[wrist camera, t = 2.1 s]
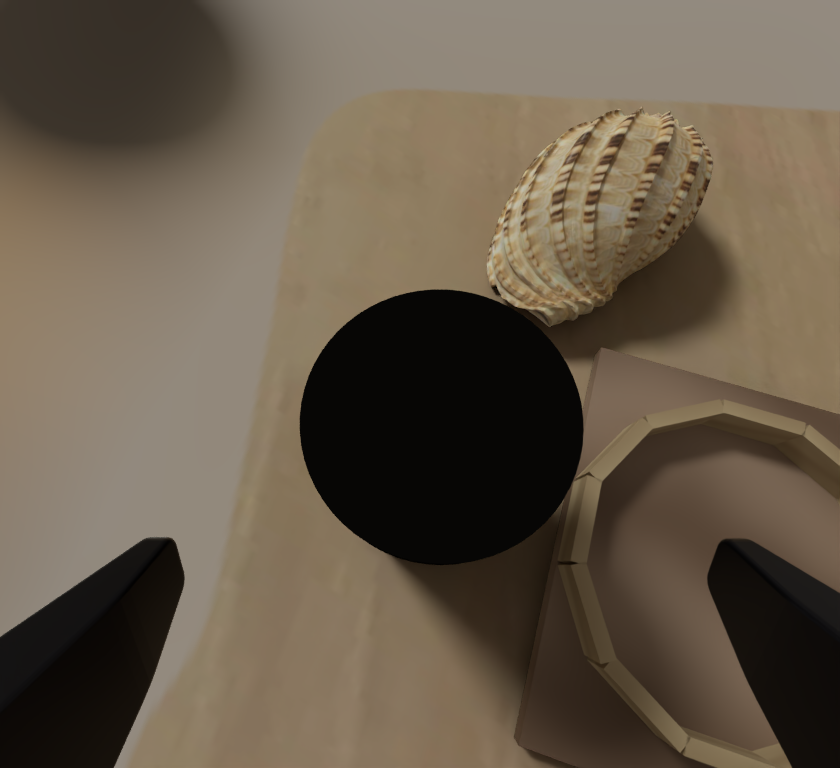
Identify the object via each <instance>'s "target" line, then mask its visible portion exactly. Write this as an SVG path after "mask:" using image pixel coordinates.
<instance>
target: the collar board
mask: <svg viewBox="0 0 840 768" xmlns="http://www.w3.org/2000/svg"><path fill="white" fill-rule="evenodd" d="M583 424H584V435H583V447H582V453H581V458H580V462H579V465H578V469H577V472H576V475H575V477H574V480H573V482H572V485H571V487H570V489H569V490H568V492H567V494H566V496H565V498H564V503H563V507H562V512H561V517H560V522H559V526H558V531H557V536H556V541H555V545H554V550H553V555H552V560H551V564H550V569H549V574H548V578H547V583H546V588H545V593H544V597H543V602H542V607H541V612H540V616H539V621H538V626H537V631H536V635H535V640H534V645H533V649H532V654H531V659H530V664H529V668H528V673H527V678H526V683H525V687H524V692H523V697H522V702H521V706H520V711H519V716H518V721H517V725H516V730H515V735H514V738H515V740H516V741H517V743H518V745H519V746H521V747H523V748H526V749H529V750H532V751H534V752H537V753H540V754H543V755H545V756H548V757H551V758H553V759H556V760H559V761H562V762H564V763H567V764H570V765H573V766H575V767H578V768H792V767H791V765H790V763H789V761H788V759H787V757H786V755H785V753H784V751H783V750H782V748H781V746H780V744H779V742H778V740H777V738H776V736H775V734H774V732H773V731H772V729H771V727H770V725H769V723H768V721H767V719H766V717H765V715H764V713H763V711H762V710H761V708H760V706H759V704H758V702H757V700H756V698H755V696H754V694H753V692H752V690H751V688H750V686H749V684H748V682H747V680H746V677H745V675H744V673H743V671H742V668H741V666H740V664H739V661H738V659H737V656H736V654H735V652H734V649H733V647H732V644H731V642H730V639H729V637H728V635H727V632H726V630H725V627H724V625H723V622H722V620H721V618H720V615H719V613H718V610H717V608H716V606H715V603H714V601H713V598H712V596H711V593H710V591H709V588H708V584H707V574H708V571H709V568H710V565H711V562H712V560H713V557H714V554H715V551H716V548H717V546H718V544H719V542H720V541H721V540H723V539H726V538H745V539H750V540H752V541H754V542H756V543H757V544H759V545H761V546H762V547H764V548H766V549H767V550H769V551H771V552H772V553H774V554H776V555H777V556H779V557H781V558H782V559H784V560H786V561H787V562H789V563H791V564H792V565H794V566H796V567H797V568H799V569H801V570H802V571H804V572H806V573H807V574H809V575H811V576H812V577H814V578H816V579H817V580H819V581H821V582H822V583H824V584H826V585H827V586H829V587H831V588H832V589H834V590H836V591H838V592H839V593H840V414H836V413H832V412H829V411H825V410H822V409H818V408H815V407H811V406H808V405H804V404H801V403H797V402H794V401H790V400H787V399H783V398H779V397H776V396H772V395H769V394H765V393H762V392H758V391H755V390H751V389H748V388H744V387H741V386H737V385H734V384H730V383H726V382H723V381H719V380H716V379H712V378H709V377H705V376H702V375H698V374H695V373H691V372H688V371H684V370H681V369H677V368H673V367H670V366H666V365H663V364H659V363H656V362H652V361H649V360H645V359H642V358H638V357H635V356H631V355H628V354H624V353H620V352H617V351H613V350H610V349H606V348H603V347H601V348H600V350H599V351H598V352H597V353H596V354H595V356H594V361H593V365H592V370H591V375H590V380H589V384H588V389H587V394H586V399H585V403H584V408H583Z"/></svg>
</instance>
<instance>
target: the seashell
mask: <svg viewBox="0 0 840 768" xmlns="http://www.w3.org/2000/svg"><path fill="white" fill-rule="evenodd" d="M670 113H671V111H669V112H667V113H665V114H664V115H663V116H662V115H661V114H659V113H658V114H655V115H649V114H648V113H645V114H644V111H643V107H641V108H640V109H638V110H637V111H636V112H634V113H632V114H631V115H629V116H626V115H625V114H624V113H623V111H622V110H621V109H617V110H615V111H611V112H608V113H606V114H604V115H602V116H600V117H599V118H597V119H596V120H595V121H594V122H585V123H582V124H579V125H577V126H574V127H573V128H571V129H569V130H568V131H567V132H566V133H564V134H563V135H562V136H560V137H559V139H558V140H556V141H554V142H553V143H552V144H550V145H549V146H548V147H546V148H545V149H544V150H543V151H542V152H541V153H540V154H539V155H538V156H537V157H536V158H535V159H534V161H533V162H532V163H531V165H530V166H529V167H528V168H527V170H526V171H525V173H524V175H523V176H522V178H521V180H520V181H519V183H518V185H517V187H516V188H515V190H514V191H513V193H512V194H511V196H510V198H509V200H508V202H507V204H506V206H505V207H504V209H503V211H502V214H501V217H500V218H499V221H498V224H497V227H496V230H495V233H494V236H493V239H492V242H491V245H490V248H489V253H488V258H487V274H488V279H489V283H490V285H491V287H492V288H493V287H494V286H497V288H498V290H499V292H500V294H501V297H502V298H503V299H505V300H507V301H508V302H509V303H511V304H512V305H513V306H515V307H518V308H524V309H527V310H528V311H529V312H531V313H532V314H533V315H535V316H536V317H537V318H539V319H540V320H541V321H542V322H544V323H545V324H546V325H547V326H548V327H551V326H552V325H556V324H560V323H562V322H563V321H564V320H572V321H573V320H575V319H577V317H578V315H579V314H587V313H591V312H592V310H593V307H600V306H603V305H604V304H605V303H606V302H605V301H609V300H611V299H612V298H613V297H612V293H613V292H615V291H617V285H618V284H619V283H620V282H621V281H623V280H624V279H625V278H627V277H628V276H629V275H631V274H632V273H634V272H636V271H638V270H640V269H642V268H644V267H646V266H647V265H649V264H650V263H652V262H653V261H654V260H656V259H657V258H659V257H660V256H661V255H662V254H663V253H665V252H666V251H668V250H669V249H670V248H671V247H672V246H674V244H675V243H676V242H677V241H678V240H679V239H680V238H681V236H682V235H683V234H684V232H685V231H686V230H687V229H688V227H689V225H690V224H691V222H692V221H693V219H694V217H695V216H696V214H697V212H698V210H699V208H700V205H701V203H702V201H703V198H704V196H705V193H706V190H707V187H708V184H709V182H710V179H711V174H712V169H713V161H712V157H711V155H710V152H709V150H708V147H707V146H706V145H705V144H704V143H703V138H701V137H700V135H699V134H698V133H697V132H696V130H695V129H694V128H693V125H692V126H688V127H680V125H679V123H678V120H674V118H673V115H670Z"/></svg>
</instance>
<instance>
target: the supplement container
mask: <svg viewBox="0 0 840 768" xmlns="http://www.w3.org/2000/svg"><path fill="white" fill-rule="evenodd" d="M583 435H584V424H583V412H582V405H581V400H580V396H579V393H578V389H577V386H576V383H575V381H574V378H573V376H572V374H571V371H570V369H569V367H568V365H567V363H566V362H565V360H564V359H563V357H562V355H561V354H560V352H559V351H558V349H557V348H556V347H555V346H554V344H553V343H552V342H551V340H550V339H549V338H548V337H547V336H546V335H545V334H544V333H543V332H542V331H541V330H540V329H539V328H538V327H537V326H536V325H534V324H533V323H532V322H531V321H529V320H528V319H527V318H525V317H524V316H523V315H521V314H520V313H518V312H516V311H515V310H513V309H511V308H510V307H508V306H506V305H504V304H502V303H500V302H497V301H495V300H492V299H489V298H487V297H484V296H480V295H477V294H473V293H468V292H463V291H455V290H423V291H416V292H410V293H406V294H402V295H398V296H395V297H392V298H389V299H387V300H384V301H381V302H379V303H377V304H375V305H373V306H371V307H369V308H368V309H366V310H364V311H363V312H361V313H360V314H358V315H357V316H355V317H354V318H353V319H351V320H350V321H349V322H347V323H346V324H345V325H344V326H343V327H342V328H341V329H340V330H339V331H338V332H337V333H336V334H335V335H334V336H333V337H332V339H331V340H330V341H329V342H328V343H327V345H326V346H325V348H324V349H323V350H322V352H321V353H320V355H319V357H318V358H317V360H316V362H315V364H314V366H313V368H312V370H311V372H310V375H309V377H308V380H307V383H306V386H305V389H304V393H303V398H302V402H301V411H300V437H301V446H302V451H303V455H304V460H305V463H306V466H307V469H308V472H309V475H310V477H311V479H312V481H313V483H314V485H315V488H316V489H317V491H318V493H319V494H320V496H321V498H322V499H323V501H324V502H325V503H326V505H327V506H328V507H329V509H330V510H331V511H332V513H333V514H334V515H335V516H336V517H337V518H338V519H339V520H340V521H341V522H342V523H343V524H344V525H345V526H346V527H347V528H349V529H350V530H351V531H352V532H353V533H354V534H356V535H357V536H359V537H360V538H362V539H363V540H365V541H366V542H367V543H369V544H371V545H372V546H374V547H376V548H377V549H379V550H381V551H383V552H385V553H387V554H390V555H392V556H395V557H397V558H400V559H404V560H408V561H411V562H416V563H422V564H432V565H449V564H459V563H465V562H471V561H476V560H480V559H483V558H487V557H490V556H493V555H496V554H498V553H501V552H503V551H505V550H507V549H509V548H511V547H513V546H515V545H517V544H518V543H520V542H522V541H523V540H525V539H526V538H527V537H529V536H530V535H532V534H533V533H534V532H535V531H536V530H538V529H539V528H540V527H541V526H542V525H543V524H544V523H545V522H546V521H547V520H548V519H549V518H550V517H551V515H552V514H553V513H554V512H555V511H556V509H557V508H558V507H559V505H560V504H561V502H562V501H563V499H564V498H565V496H566V494H567V492H568V490H569V489H570V487H571V485H572V482H573V480H574V477H575V475H576V472H577V469H578V465H579V462H580V458H581V453H582V447H583Z"/></svg>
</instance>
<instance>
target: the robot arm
mask: <svg viewBox="0 0 840 768" xmlns="http://www.w3.org/2000/svg"><path fill="white" fill-rule="evenodd" d="M707 584H708V588H709V591H710V593H711V596H712V598H713V601H714V603H715V606H716V608H717V610H718V613H719V615H720V618H721V620H722V622H723V625H724V627H725V630H726V632H727V635H728V637H729V639H730V642H731V644H732V647H733V649H734V652H735V654H736V656H737V659H738V661H739V664H740V666H741V668H742V671H743V673H744V675H745V677H746V680H747V682H748V684H749V686H750V688H751V690H752V692H753V694H754V696H755V698H756V700H757V702H758V704H759V706H760V708H761V710H762V711H763V713H764V715H765V717H766V719H767V721H768V723H769V725H770V727H771V729H772V731H773V732H774V734H775V736H776V738H777V740H778V742H779V744H780V746H781V748H782V750H783V751H784V753H785V755H786V757H787V759H788V761H789V763H790V765H791V767H792V768H840V593H839V592H838V591H836V590H834V589H832V588H831V587H829V586H827V585H826V584H824V583H822V582H821V581H819V580H817V579H816V578H814V577H812V576H811V575H809V574H807V573H806V572H804V571H802V570H801V569H799V568H797V567H796V566H794V565H792V564H791V563H789V562H787V561H786V560H784V559H782V558H781V557H779V556H777V555H776V554H774V553H772V552H771V551H769V550H767V549H766V548H764V547H762V546H761V545H759V544H757V543H756V542H754V541H752V540H750V539H745V538H726V539H723V540H721V541H720V542H719V544H718V546H717V548H716V551H715V554H714V557H713V560H712V562H711V565H710V568H709V571H708V574H707ZM183 587H184V571H183V567H182V564H181V560H180V556H179V553H178V549H177V546H176V543H175V541H174V540H173V539H172V538H169V537H150V538H146V539H144V540H142V541H140V542H139V543H137V544H136V545H134V546H133V547H131V548H130V549H129V550H127V551H125V552H124V553H123V554H121V555H120V556H118V557H117V558H115V559H114V560H112V561H111V562H109V563H108V564H106V565H105V566H104V567H102V568H101V569H99V570H98V571H96V572H95V573H93V574H92V575H90V576H89V577H87V578H86V579H84V580H83V581H81V582H80V583H79V584H77V585H76V586H74V587H73V588H71V589H70V590H68V591H67V592H65V593H64V594H62V595H61V596H60V597H58V598H57V599H55V600H54V601H52V602H51V603H49V604H48V605H46V606H45V607H43V608H42V609H40V610H39V611H38V612H36V613H35V614H33V615H32V616H30V617H29V618H27V619H26V620H24V621H23V622H21V623H20V624H18V625H17V626H16V627H14V628H13V629H11V630H10V631H8V632H7V633H5V634H4V635H2V636H1V637H0V768H114V766H115V764H116V762H117V759H118V757H119V755H120V753H121V750H122V748H123V746H124V744H125V741H126V739H127V737H128V735H129V732H130V730H131V728H132V726H133V724H134V721H135V719H136V717H137V715H138V712H139V710H140V708H141V706H142V703H143V701H144V699H145V696H146V694H147V692H148V689H149V687H150V684H151V682H152V679H153V676H154V674H155V671H156V668H157V665H158V662H159V659H160V656H161V653H162V650H163V647H164V644H165V641H166V638H167V635H168V632H169V629H170V626H171V623H172V620H173V617H174V614H175V611H176V608H177V605H178V602H179V599H180V596H181V593H182V590H183Z"/></svg>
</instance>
